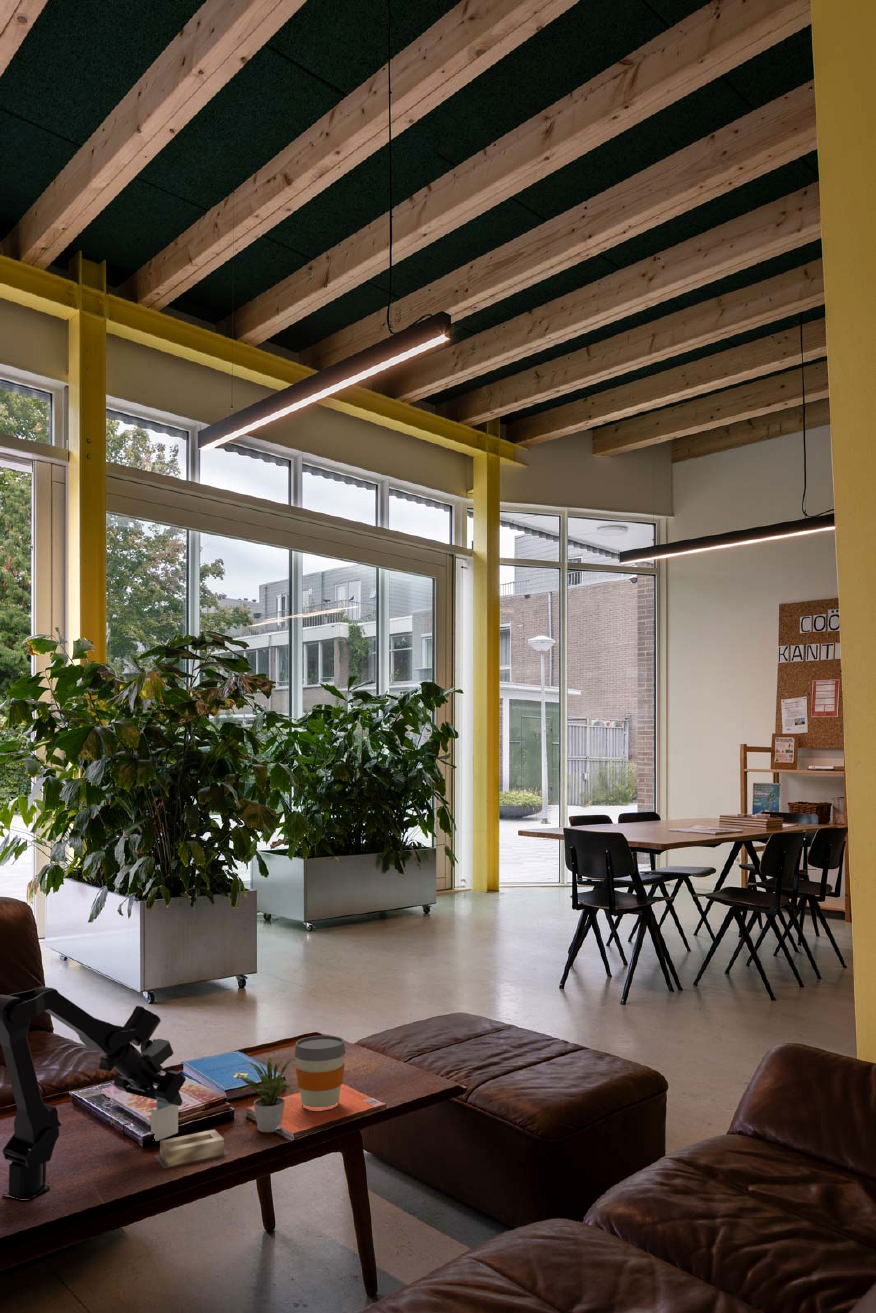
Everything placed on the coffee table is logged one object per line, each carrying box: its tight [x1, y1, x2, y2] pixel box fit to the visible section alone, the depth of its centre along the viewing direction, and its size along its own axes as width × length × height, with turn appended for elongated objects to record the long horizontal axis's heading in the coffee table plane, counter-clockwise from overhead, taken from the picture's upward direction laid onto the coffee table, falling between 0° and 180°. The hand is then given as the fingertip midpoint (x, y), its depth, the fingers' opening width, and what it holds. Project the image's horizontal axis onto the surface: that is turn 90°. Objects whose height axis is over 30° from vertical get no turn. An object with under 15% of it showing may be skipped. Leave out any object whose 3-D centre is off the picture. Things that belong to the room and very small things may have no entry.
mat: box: [154, 1147, 230, 1170], centre depth 208 cm, size 14×8×1 cm, turn 120°
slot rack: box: [159, 1129, 225, 1168], centre depth 208 cm, size 12×7×3 cm, turn 120°
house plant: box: [236, 1053, 300, 1133], centre depth 225 cm, size 14×14×16 cm
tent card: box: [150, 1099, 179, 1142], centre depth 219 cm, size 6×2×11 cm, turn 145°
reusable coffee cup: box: [294, 1035, 346, 1107], centre depth 239 cm, size 13×13×15 cm
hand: (169, 1100), depth 221 cm, fingers open, 7 cm apart
